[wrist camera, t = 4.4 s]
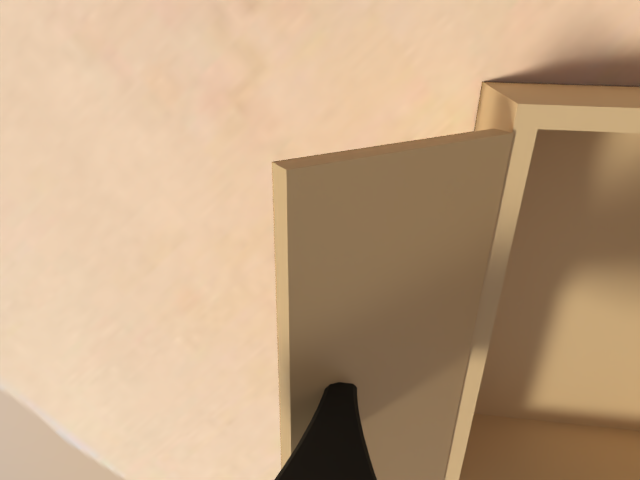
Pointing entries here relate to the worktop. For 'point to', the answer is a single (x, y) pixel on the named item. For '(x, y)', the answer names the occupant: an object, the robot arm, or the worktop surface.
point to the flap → (384, 287)
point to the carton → (557, 293)
